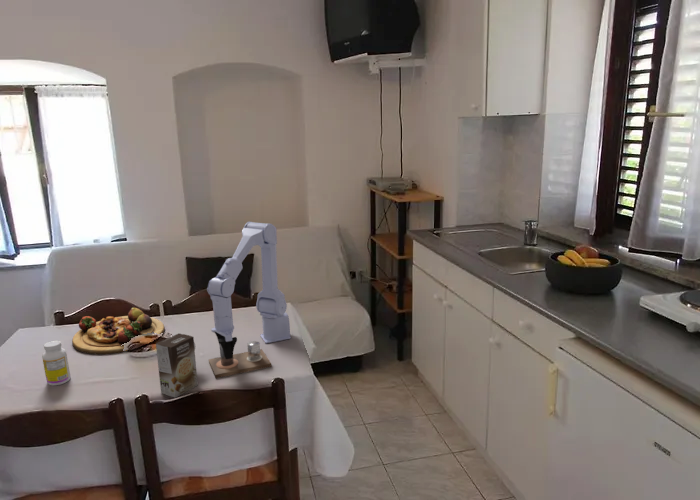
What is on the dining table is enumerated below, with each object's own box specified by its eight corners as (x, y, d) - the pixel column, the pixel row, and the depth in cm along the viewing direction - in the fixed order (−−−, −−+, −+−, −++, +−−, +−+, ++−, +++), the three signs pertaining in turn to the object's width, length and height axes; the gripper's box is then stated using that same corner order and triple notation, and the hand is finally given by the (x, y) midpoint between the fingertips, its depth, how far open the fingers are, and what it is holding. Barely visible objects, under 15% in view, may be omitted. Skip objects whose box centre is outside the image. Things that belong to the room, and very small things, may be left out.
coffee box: (175, 398, 160) (169, 348, 156) (160, 393, 163) (154, 343, 159) (198, 384, 168) (193, 336, 164) (183, 380, 171) (178, 332, 167)
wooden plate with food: (52, 347, 198) (48, 326, 195) (120, 315, 226) (117, 296, 224) (119, 363, 185) (116, 341, 183) (182, 327, 213) (180, 308, 211)
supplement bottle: (52, 376, 175) (46, 339, 172) (74, 375, 176) (68, 338, 172) (43, 387, 169) (36, 348, 165) (65, 385, 169) (58, 347, 166)
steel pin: (231, 359, 181) (229, 339, 179) (235, 364, 178) (233, 344, 176) (219, 362, 179) (217, 342, 177) (223, 367, 176) (221, 347, 174)
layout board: (261, 352, 189) (260, 335, 187) (271, 366, 178) (270, 348, 177) (208, 362, 182) (207, 344, 180) (215, 378, 171) (213, 359, 170)
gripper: (206, 309, 179) (210, 347, 182) (214, 324, 166) (218, 365, 170) (228, 305, 182) (231, 343, 185) (237, 320, 169) (240, 360, 172)
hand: (226, 353), depth 178 cm, fingers open, 7 cm apart
